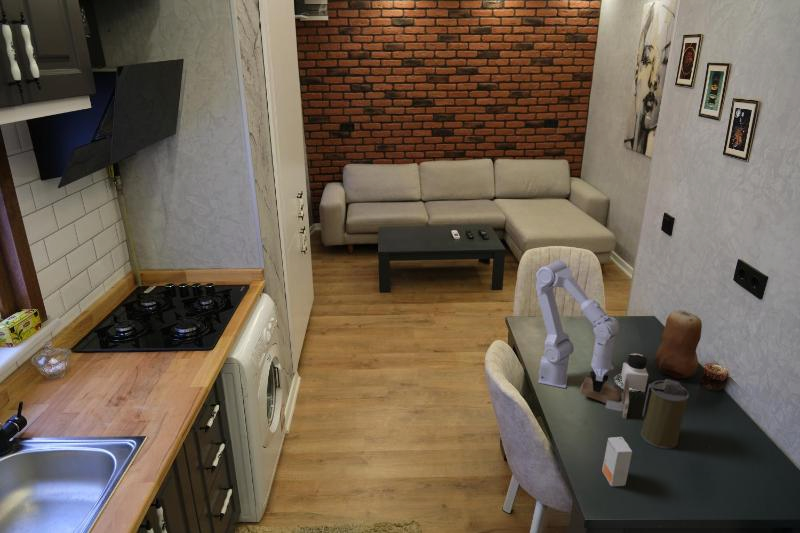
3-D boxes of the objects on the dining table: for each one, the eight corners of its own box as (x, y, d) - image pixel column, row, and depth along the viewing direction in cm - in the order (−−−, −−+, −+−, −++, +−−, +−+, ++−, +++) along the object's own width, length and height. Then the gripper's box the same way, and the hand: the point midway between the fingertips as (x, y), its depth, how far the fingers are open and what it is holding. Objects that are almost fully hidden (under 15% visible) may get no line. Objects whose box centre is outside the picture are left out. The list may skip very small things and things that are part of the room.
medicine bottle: (645, 392, 187) (651, 363, 182) (623, 390, 188) (629, 360, 184) (640, 381, 193) (646, 352, 189) (620, 379, 195) (625, 350, 190)
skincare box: (601, 471, 151) (607, 436, 147) (615, 470, 152) (622, 436, 147) (610, 487, 146) (617, 452, 141) (625, 486, 146) (633, 451, 142)
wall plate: (622, 418, 174) (625, 402, 171) (622, 394, 186) (625, 379, 183) (625, 418, 173) (629, 403, 171) (625, 395, 185) (628, 380, 183)
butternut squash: (689, 368, 202) (704, 308, 192) (697, 388, 190) (713, 325, 180) (649, 362, 205) (662, 303, 196) (655, 381, 193) (668, 319, 184)
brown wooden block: (579, 393, 182) (585, 381, 180) (580, 387, 185) (585, 376, 183) (615, 407, 179) (621, 395, 177) (615, 401, 182) (621, 390, 180)
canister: (675, 430, 168) (688, 376, 161) (679, 452, 159) (693, 395, 151) (637, 423, 171) (649, 369, 164) (640, 444, 162) (652, 388, 155)
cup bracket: (605, 407, 179) (607, 400, 177) (606, 396, 184) (607, 389, 183) (622, 411, 177) (624, 404, 176) (622, 400, 182) (624, 392, 181)
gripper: (615, 366, 168) (608, 402, 173) (615, 344, 181) (609, 379, 186) (591, 362, 171) (586, 397, 176) (593, 341, 183) (588, 375, 188)
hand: (596, 388), depth 181 cm, fingers closed on brown wooden block, 3 cm apart
